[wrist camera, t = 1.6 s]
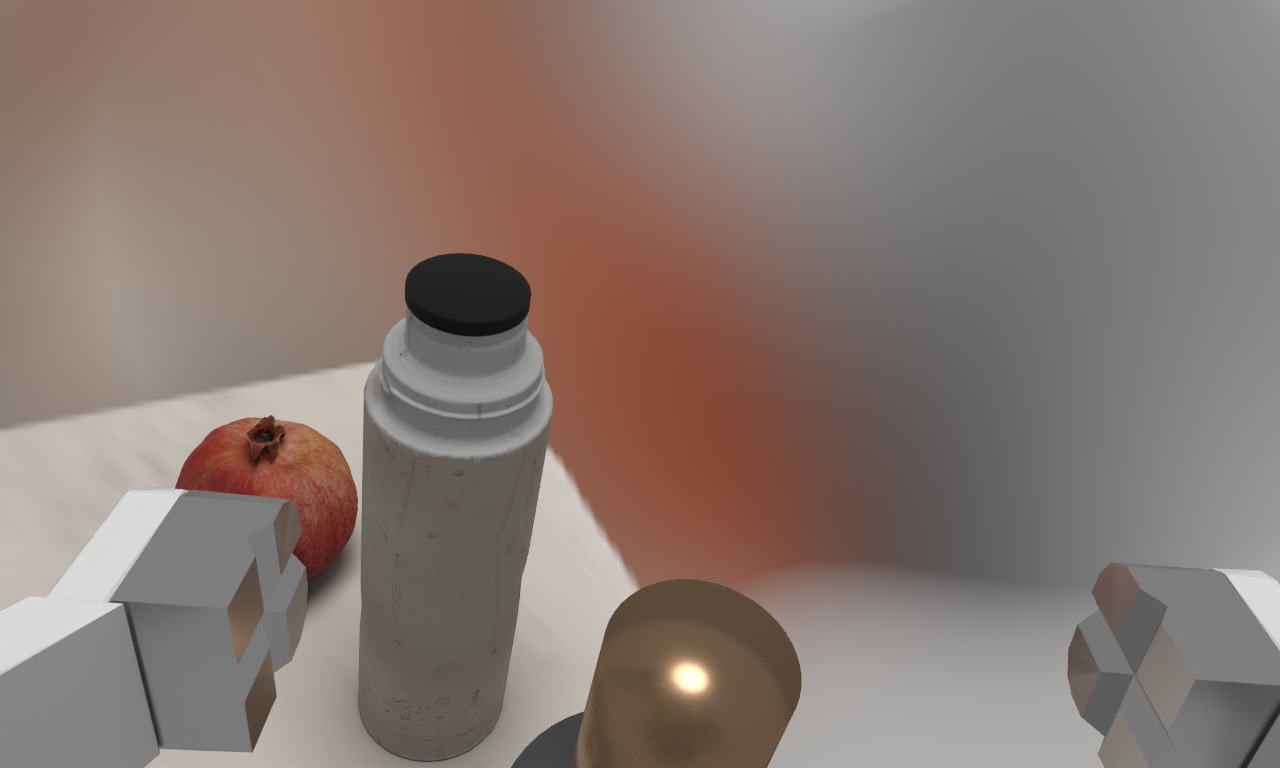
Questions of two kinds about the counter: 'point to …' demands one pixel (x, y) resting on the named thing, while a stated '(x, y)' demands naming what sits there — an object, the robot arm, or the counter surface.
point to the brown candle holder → (680, 686)
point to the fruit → (282, 479)
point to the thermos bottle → (448, 504)
